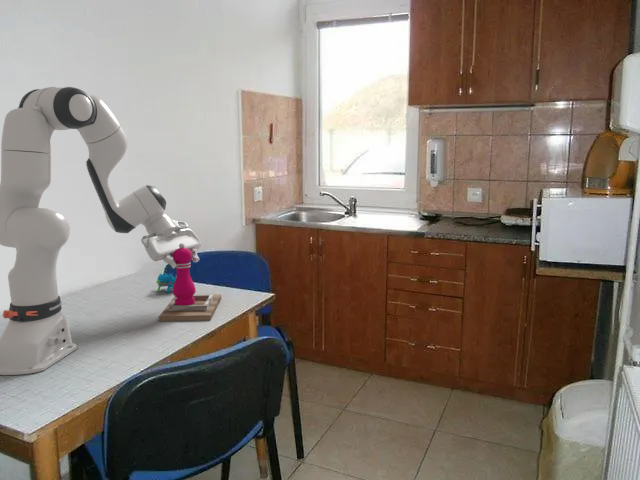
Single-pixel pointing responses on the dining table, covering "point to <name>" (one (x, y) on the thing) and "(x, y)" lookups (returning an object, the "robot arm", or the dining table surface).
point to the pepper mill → (183, 277)
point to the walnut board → (192, 309)
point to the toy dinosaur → (166, 281)
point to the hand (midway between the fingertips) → (187, 263)
